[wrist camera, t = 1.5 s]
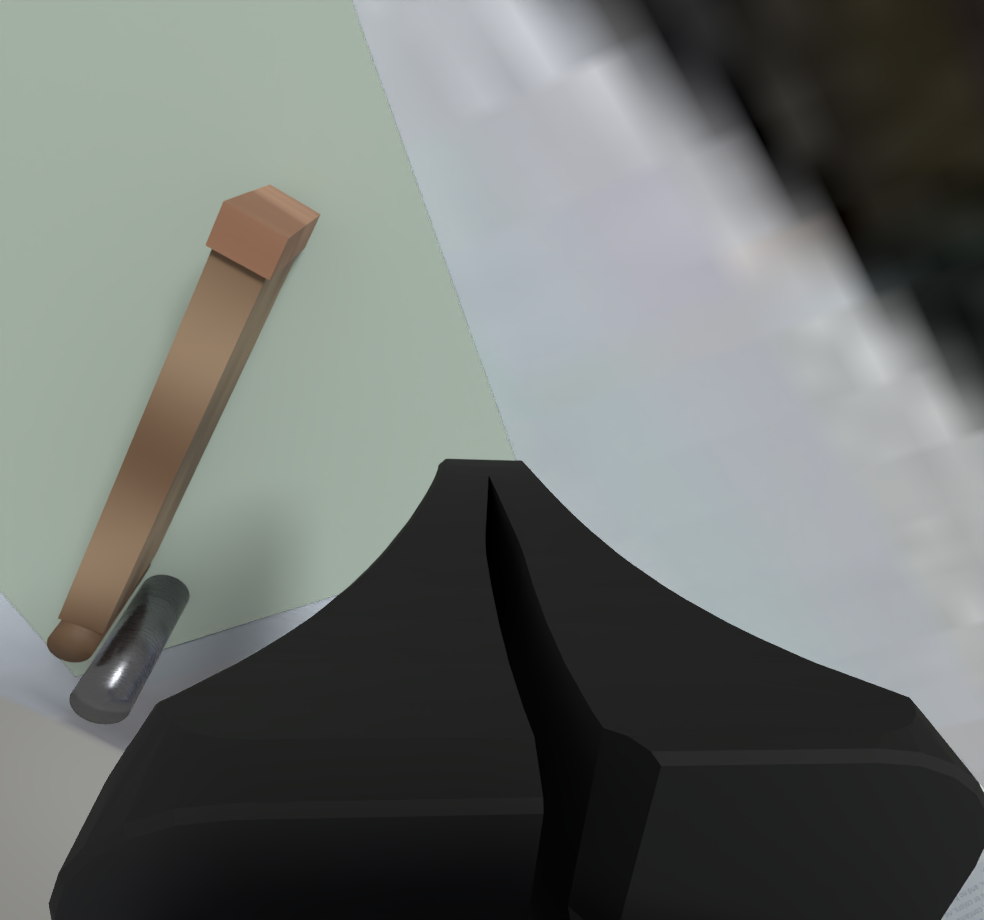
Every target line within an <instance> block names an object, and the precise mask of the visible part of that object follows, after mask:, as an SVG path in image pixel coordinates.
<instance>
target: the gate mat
mask: <svg viewBox="0 0 984 920" xmlns="http://www.w3.org/2000/svg"><path fill="white" fill-rule="evenodd" d="M269 184H270V185H272V186H274V187H275V188H277V189H279V190H280V191H282V192H284V193H285V194H287V195H289V196H290V197H292V198H294V199H296V200H297V201H299V202H301V203H302V204H304V205H306V206H307V207H309V208H311V209H312V210H314V211H316V212H317V213H319V214H321V215H320V217H319V219H318V221H317V223H316V225H315V227H314V229H313V231H312V234H311V236H310V238H309V240H308V242H307V244H306V246H305V248H304V249H303V250H302V251H301V252H300V253H299V254H298V255H297V256H296V258H295V260H294V262H293V264H292V266H291V269H290V271H289V273H288V275H287V277H286V279H285V281H284V283H283V286H282V288H281V290H280V292H279V294H278V296H277V298H276V300H275V303H274V305H273V307H272V309H271V311H270V313H269V315H268V317H267V320H266V322H265V324H264V326H263V328H262V330H261V332H260V334H259V337H258V339H257V341H256V343H255V345H254V347H253V349H252V351H251V354H250V356H249V358H248V360H247V362H246V364H245V366H244V368H243V371H242V373H241V375H240V377H239V379H238V381H237V383H236V385H235V388H234V390H233V392H232V394H231V396H230V398H229V400H228V402H227V405H226V407H225V409H224V411H223V413H222V415H221V417H220V419H219V422H218V424H217V426H216V428H215V430H214V432H213V434H212V436H211V439H210V441H209V443H208V445H207V447H206V449H205V451H204V453H203V456H202V458H201V460H200V462H199V464H198V466H197V468H196V470H195V473H194V475H193V477H192V479H191V481H190V483H189V485H188V487H187V489H186V492H185V494H184V496H183V498H182V500H181V502H180V504H179V506H178V509H177V511H176V513H175V515H174V517H173V519H172V521H171V523H170V526H169V528H168V530H167V532H166V534H165V536H164V538H163V540H162V543H161V545H160V547H159V549H158V551H157V553H156V555H155V557H154V558H153V560H152V561H151V565H150V568H149V570H148V571H147V573H146V574H145V576H144V577H143V579H142V580H141V582H140V583H139V585H138V586H137V588H136V589H135V591H134V592H133V594H132V595H131V597H130V598H129V600H128V602H127V603H126V605H125V606H124V608H123V609H122V611H121V612H120V614H119V615H118V617H117V618H116V620H115V621H114V623H113V624H112V626H111V627H110V629H109V630H108V632H107V633H106V635H105V636H104V638H103V640H102V641H101V643H100V644H99V646H98V647H97V649H96V650H95V652H94V653H93V655H92V656H91V657H90V658H89V659H88V660H86V661H83V662H77V663H73V662H67V661H64V660H61V659H60V660H61V661H62V662H63V663H64V664H65V665H66V667H67V668H68V669H69V670H70V671H71V672H72V673H73V675H74V676H75V677H77V676H80V675H83V674H84V673H85V672H86V670H87V669H88V667H89V666H90V664H91V662H92V661H93V659H94V658H95V656H96V655H97V653H98V652H99V650H100V649H101V647H102V646H103V644H104V642H105V641H106V639H107V638H108V636H109V635H110V633H111V632H112V630H113V629H114V627H115V626H116V624H117V622H118V621H119V619H120V618H121V616H122V615H123V613H124V612H125V610H126V609H127V607H128V606H129V604H130V603H131V601H132V599H133V598H134V596H135V595H136V593H137V592H138V590H139V589H140V587H141V586H142V584H143V583H144V581H145V580H146V579H148V578H149V577H151V576H154V575H169V576H172V577H175V578H177V579H179V580H180V581H182V582H183V583H184V584H185V585H186V587H187V588H188V590H189V595H190V597H189V601H188V603H187V605H186V607H185V609H184V611H183V613H182V614H181V616H180V618H179V620H178V622H177V624H176V626H175V628H174V630H173V631H172V633H171V635H170V637H169V639H168V641H167V643H166V645H165V646H164V648H163V649H166V648H169V647H172V646H175V645H179V644H182V643H185V642H188V641H191V640H194V639H198V638H201V637H204V636H207V635H210V634H214V633H217V632H220V631H223V630H226V629H230V628H233V627H236V626H239V625H242V624H245V623H249V622H252V621H255V620H258V619H261V618H265V617H268V616H271V615H274V614H277V613H281V612H284V611H287V610H290V609H293V608H296V607H300V606H303V605H306V604H309V603H312V602H316V601H319V600H322V599H325V598H328V597H332V596H335V595H338V594H340V593H342V592H343V591H344V590H345V589H346V588H347V587H349V586H350V585H351V584H352V583H353V582H354V581H355V580H356V579H357V578H358V577H359V576H360V575H361V574H362V573H363V572H364V571H365V570H367V569H368V568H369V566H370V565H371V564H372V563H373V562H374V561H375V560H376V559H377V558H378V557H379V556H380V555H381V554H382V553H383V551H384V550H385V549H386V548H387V547H388V546H389V544H390V543H391V542H392V541H393V539H394V538H395V537H396V536H397V534H398V533H399V532H400V531H401V529H402V528H403V527H404V526H405V524H406V523H407V522H408V520H409V519H410V518H411V516H412V515H413V513H414V512H415V510H416V508H417V507H418V505H419V504H420V502H421V501H422V499H423V498H424V496H425V495H426V493H427V491H428V489H429V487H430V486H431V484H432V482H433V480H434V477H435V475H436V472H437V470H438V465H439V464H440V463H441V462H442V461H444V460H445V459H477V460H515V461H516V459H515V456H514V453H513V450H512V448H511V445H510V442H509V439H508V436H507V434H506V431H505V428H504V425H503V422H502V420H501V417H500V414H499V411H498V408H497V406H496V403H495V400H494V397H493V395H492V392H491V389H490V386H489V383H488V381H487V378H486V375H485V372H484V369H483V367H482V364H481V361H480V358H479V355H478V353H477V350H476V347H475V344H474V341H473V339H472V336H471V333H470V330H469V327H468V325H467V322H466V319H465V316H464V313H463V311H462V308H461V305H460V302H459V299H458V297H457V294H456V291H455V288H454V285H453V283H452V280H451V277H450V274H449V271H448V269H447V266H446V263H445V260H444V257H443V255H442V252H441V249H440V246H439V243H438V241H437V238H436V235H435V232H434V229H433V227H432V224H431V221H430V218H429V216H428V213H427V210H426V207H425V204H424V202H423V199H422V196H421V193H420V190H419V188H418V185H417V182H416V179H415V176H414V174H413V171H412V168H411V165H410V162H409V160H408V157H407V154H406V151H405V148H404V146H403V143H402V140H401V137H400V134H399V132H398V129H397V126H396V123H395V120H394V118H393V115H392V112H391V109H390V106H389V104H388V101H387V98H386V95H385V92H384V90H383V87H382V84H381V81H380V78H379V76H378V73H377V70H376V67H375V64H374V62H373V59H372V56H371V53H370V50H369V48H368V45H367V42H366V39H365V37H364V34H363V31H362V28H361V25H360V23H359V20H358V17H357V14H356V11H355V9H354V6H353V3H352V0H0V591H1V593H2V594H3V595H4V596H5V597H6V598H7V599H8V600H9V602H10V603H11V604H12V605H13V606H14V607H15V608H16V610H17V611H18V612H19V613H20V614H21V615H22V616H23V618H24V619H25V620H26V621H27V622H28V623H29V624H30V626H31V627H32V628H33V629H34V630H35V631H36V632H37V634H38V635H39V636H40V637H41V638H42V639H43V640H44V642H45V643H46V644H47V639H48V637H49V636H50V634H51V633H52V632H53V630H54V629H55V628H56V626H57V625H58V624H59V622H60V621H61V619H58V617H59V614H60V612H61V610H62V607H63V605H64V602H65V600H66V598H67V595H68V593H69V590H70V588H71V586H72V583H73V581H74V578H75V576H76V574H77V571H78V569H79V566H80V564H81V562H82V559H83V557H84V554H85V552H86V550H87V547H88V545H89V542H90V540H91V538H92V535H93V533H94V530H95V528H96V526H97V523H98V521H99V518H100V516H101V514H102V511H103V509H104V506H105V504H106V502H107V499H108V497H109V494H110V492H111V490H112V487H113V485H114V482H115V480H116V478H117V475H118V473H119V470H120V468H121V466H122V463H123V461H124V458H125V456H126V454H127V451H128V449H129V446H130V444H131V442H132V439H133V437H134V434H135V432H136V430H137V427H138V425H139V422H140V420H141V418H142V415H143V413H144V410H145V408H146V406H147V403H148V401H149V398H150V396H151V394H152V391H153V389H154V386H155V384H156V382H157V379H158V377H159V375H160V372H161V370H162V367H163V365H164V363H165V360H166V358H167V355H168V353H169V351H170V348H171V346H172V343H173V341H174V339H175V336H176V334H177V331H178V329H179V327H180V324H181V322H182V319H183V317H184V315H185V312H186V310H187V307H188V305H189V303H190V300H191V298H192V295H193V293H194V291H195V288H196V286H197V283H198V281H199V279H200V276H201V274H202V271H203V269H204V267H205V264H206V262H207V259H208V257H209V255H210V252H211V250H212V249H211V248H209V247H207V246H206V242H207V240H208V237H209V235H210V233H211V230H212V228H213V225H214V223H215V220H216V218H217V216H218V213H219V211H220V208H221V206H222V203H223V201H225V200H228V199H231V198H234V197H236V196H239V195H242V194H245V193H247V192H250V191H253V190H256V189H258V188H261V187H264V186H267V185H269Z"/></svg>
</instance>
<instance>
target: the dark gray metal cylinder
mask: <svg viewBox="0 0 984 920" xmlns="http://www.w3.org/2000/svg"><path fill="white" fill-rule="evenodd" d="M189 597H190V595H189V590H188V588H187V587H186V585H185V584H184V583H183V582H182V581H180V580H179V579H177V578H175V577H172V576H169V575H154V576H151V577H149V578H148V579H146V580H145V581H144V583H143V584H142V586H141V587H140V589H139V590H138V592H137V593H136V595H135V596H134V598H133V599H132V601H131V603H130V604H129V606H128V607H127V609H126V610H125V612H124V613H123V615H122V616H121V618H120V619H119V621H118V622H117V624H116V626H115V627H114V629H113V630H112V632H111V633H110V635H109V636H108V638H107V639H106V641H105V642H104V644H103V646H102V647H101V649H100V650H99V652H98V653H97V655H96V656H95V658H94V659H93V661H92V662H91V664H90V666H89V667H88V669H87V670H86V672H85V673H84V675H83V676H82V678H81V679H80V681H79V682H78V684H77V685H76V687H75V689H74V690H73V692H72V693H71V695H70V705H71V707H72V709H73V710H74V711H75V712H76V713H77V714H78V715H79V716H80V717H82V718H84V719H86V720H88V721H90V722H94V723H98V724H113V723H117V722H120V721H122V720H123V719H125V718H126V717H127V716H128V714H129V712H130V710H131V709H132V707H133V705H134V703H135V701H136V699H137V697H138V695H139V693H140V692H141V690H142V688H143V686H144V684H145V682H146V680H147V678H148V677H149V675H150V673H151V671H152V669H153V667H154V665H155V663H156V662H157V660H158V658H159V656H160V654H161V652H162V650H163V648H164V646H165V645H166V643H167V641H168V639H169V637H170V635H171V633H172V631H173V630H174V628H175V626H176V624H177V622H178V620H179V618H180V616H181V614H182V613H183V611H184V609H185V607H186V605H187V603H188V601H189Z"/></svg>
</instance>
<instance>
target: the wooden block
mask: <svg viewBox="0 0 984 920" xmlns="http://www.w3.org/2000/svg"><path fill="white" fill-rule="evenodd" d="M320 215H321V214H319V213H317V212H316V211H314V210H312V209H311V208H309V207H307V206H306V205H304V204H302V203H301V202H299V201H297V200H296V199H294V198H292V197H290V196H289V195H287V194H285V193H284V192H282V191H280V190H279V189H277V188H275V187H274V186H272V185H270V184H269V185H267V186H264V187H261V188H258V189H256V190H253V191H250V192H247V193H245V194H242V195H239V196H236V197H234V198H231V199H228V200H225V201H223V203H222V206H221V208H220V211H219V213H218V216H217V218H216V220H215V223H214V225H213V228H212V230H211V233H210V235H209V237H208V240H207V242H206V246H207V247H209V248H211V249H212V250H211V252H210V255H209V257H208V259H207V262H206V264H205V267H204V269H203V271H202V274H201V276H200V279H199V281H198V283H197V286H196V288H195V291H194V293H193V295H192V298H191V300H190V303H189V305H188V307H187V310H186V312H185V315H184V317H183V319H182V322H181V324H180V327H179V329H178V331H177V334H176V336H175V339H174V341H173V343H172V346H171V348H170V351H169V353H168V355H167V358H166V360H165V363H164V365H163V367H162V370H161V372H160V375H159V377H158V379H157V382H156V384H155V386H154V389H153V391H152V394H151V396H150V398H149V401H148V403H147V406H146V408H145V410H144V413H143V415H142V418H141V420H140V422H139V425H138V427H137V430H136V432H135V434H134V437H133V439H132V442H131V444H130V446H129V449H128V451H127V454H126V456H125V458H124V461H123V463H122V466H121V468H120V470H119V473H118V475H117V478H116V480H115V482H114V485H113V487H112V490H111V492H110V494H109V497H108V499H107V502H106V504H105V506H104V509H103V511H102V514H101V516H100V518H99V521H98V523H97V526H96V528H95V530H94V533H93V535H92V538H91V540H90V542H89V545H88V547H87V550H86V552H85V554H84V557H83V559H82V562H81V564H80V566H79V569H78V571H77V574H76V576H75V578H74V581H73V583H72V586H71V588H70V590H69V593H68V595H67V598H66V600H65V602H64V605H63V607H62V610H61V612H60V614H59V617H58V619H61V621H60V622H59V624H58V625H57V626H56V628H55V629H54V630H53V632H52V633H51V634H50V636H49V637H48V639H47V646H48V648H49V650H50V652H51V653H52V654H53V655H55V656H56V657H57V658H59V659H61V660H64V661H67V662H73V663H77V662H83V661H86V660H88V659H89V658H90V657H91V656H92V655H93V653H94V652H95V650H96V649H97V647H98V646H99V644H100V643H101V641H102V640H103V638H104V636H105V635H106V633H107V632H108V630H109V629H110V627H111V626H112V624H113V623H114V621H115V620H116V618H117V617H118V615H119V614H120V612H121V611H122V609H123V608H124V606H125V605H126V603H127V602H128V600H129V598H130V597H131V595H132V594H133V592H134V591H135V589H136V588H137V586H138V585H139V583H140V582H141V580H142V579H143V577H144V576H145V574H146V573H147V571H148V570H149V568H150V565H151V561H152V560H153V558H154V557H155V555H156V553H157V551H158V549H159V547H160V545H161V543H162V540H163V538H164V536H165V534H166V532H167V530H168V528H169V526H170V523H171V521H172V519H173V517H174V515H175V513H176V511H177V509H178V506H179V504H180V502H181V500H182V498H183V496H184V494H185V492H186V489H187V487H188V485H189V483H190V481H191V479H192V477H193V475H194V473H195V470H196V468H197V466H198V464H199V462H200V460H201V458H202V456H203V453H204V451H205V449H206V447H207V445H208V443H209V441H210V439H211V436H212V434H213V432H214V430H215V428H216V426H217V424H218V422H219V419H220V417H221V415H222V413H223V411H224V409H225V407H226V405H227V402H228V400H229V398H230V396H231V394H232V392H233V390H234V388H235V385H236V383H237V381H238V379H239V377H240V375H241V373H242V371H243V368H244V366H245V364H246V362H247V360H248V358H249V356H250V354H251V351H252V349H253V347H254V345H255V343H256V341H257V339H258V337H259V334H260V332H261V330H262V328H263V326H264V324H265V322H266V320H267V317H268V315H269V313H270V311H271V309H272V307H273V305H274V303H275V300H276V298H277V296H278V294H279V292H280V290H281V288H282V286H283V283H284V281H285V279H286V277H287V275H288V273H289V271H290V269H291V266H292V264H293V262H294V260H295V258H296V256H297V255H298V254H299V253H300V252H301V251H302V250H303V249H304V248H305V246H306V244H307V242H308V240H309V238H310V236H311V234H312V231H313V229H314V227H315V225H316V223H317V221H318V219H319V217H320Z"/></svg>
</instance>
